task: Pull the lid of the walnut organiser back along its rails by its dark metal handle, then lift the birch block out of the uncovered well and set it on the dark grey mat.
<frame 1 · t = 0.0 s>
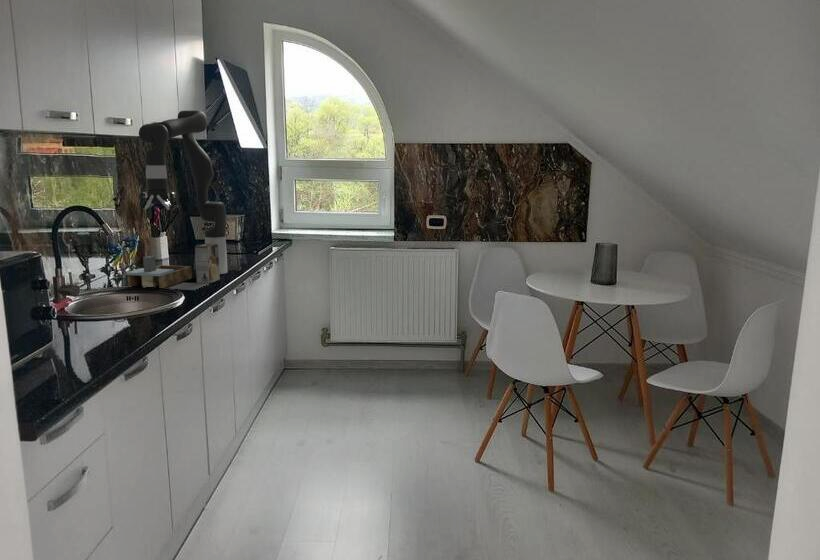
hand: (159, 219, 248), 29 cm above the worktop, tool pointing down, fingers open, 8 cm apart
organiser: (151, 286, 265), on the worktop
block: (150, 280, 265), in the organiser
lid: (149, 265, 263), point 9 cm above the worktop, slide at 0.0 cm
mat: (188, 286, 264), on the worktop
coffee box: (208, 281, 276), on the worktop
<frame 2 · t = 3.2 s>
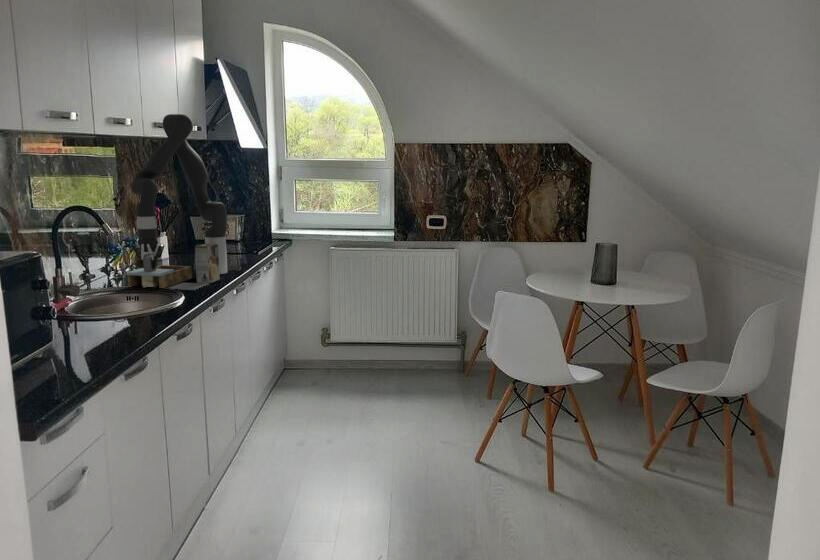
hand: (149, 268, 264), 8 cm above the worktop, tool pointing down, fingers closed on lid, 3 cm apart
lid: (149, 265, 263), point 9 cm above the worktop, slide at 0.0 cm, touching gripper
everything else where it was.
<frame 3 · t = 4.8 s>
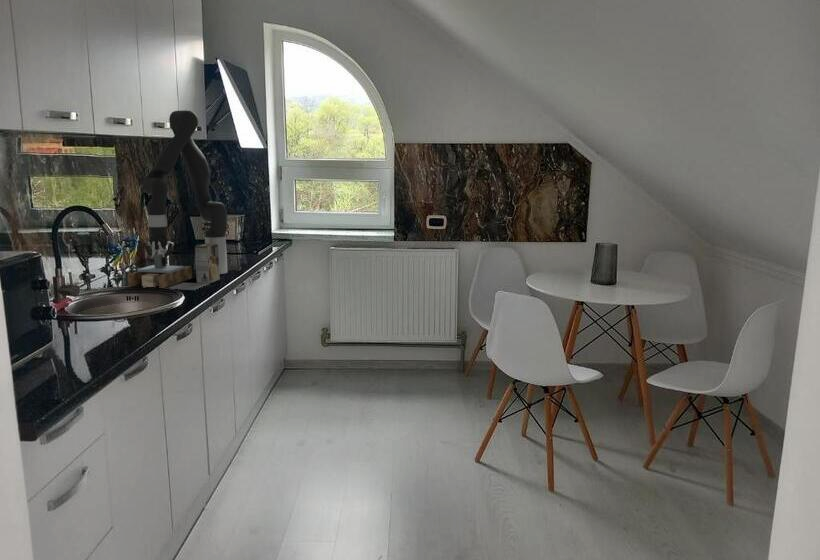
hand: (160, 265, 271), 8 cm above the worktop, tool pointing down, fingers closed on lid, 3 cm apart
lid: (160, 262, 271), point 9 cm above the worktop, slide at 7.9 cm, touching gripper
everything else where it was.
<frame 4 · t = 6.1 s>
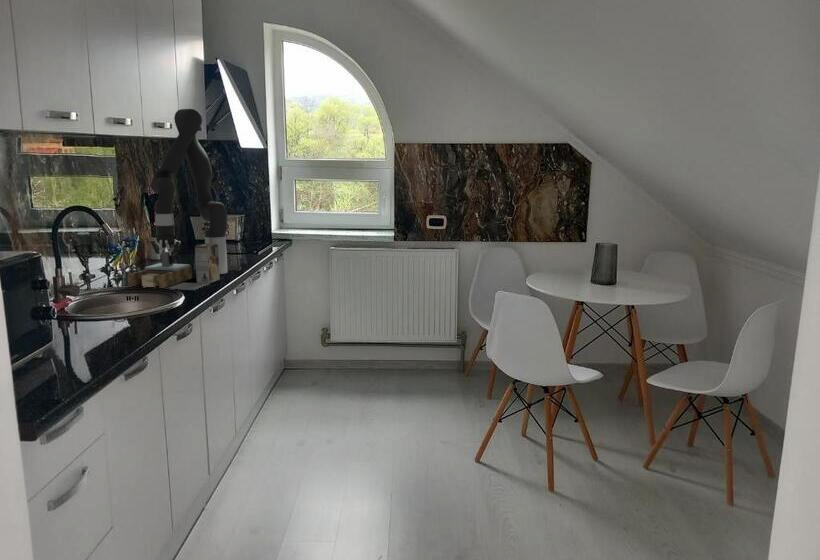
hand: (167, 263, 277), 8 cm above the worktop, tool pointing down, fingers closed on lid, 3 cm apart
lid: (167, 260, 276), point 9 cm above the worktop, slide at 13.4 cm, touching gripper
everything else where it was.
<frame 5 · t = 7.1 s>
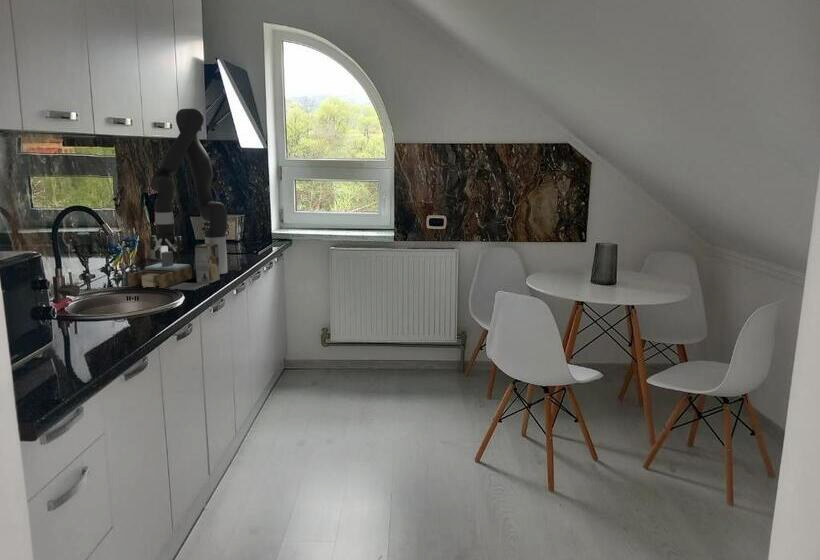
hand: (167, 259, 276), 9 cm above the worktop, tool pointing down, fingers open, 8 cm apart
lid: (167, 260, 276), point 9 cm above the worktop, slide at 13.4 cm
everything else where it was.
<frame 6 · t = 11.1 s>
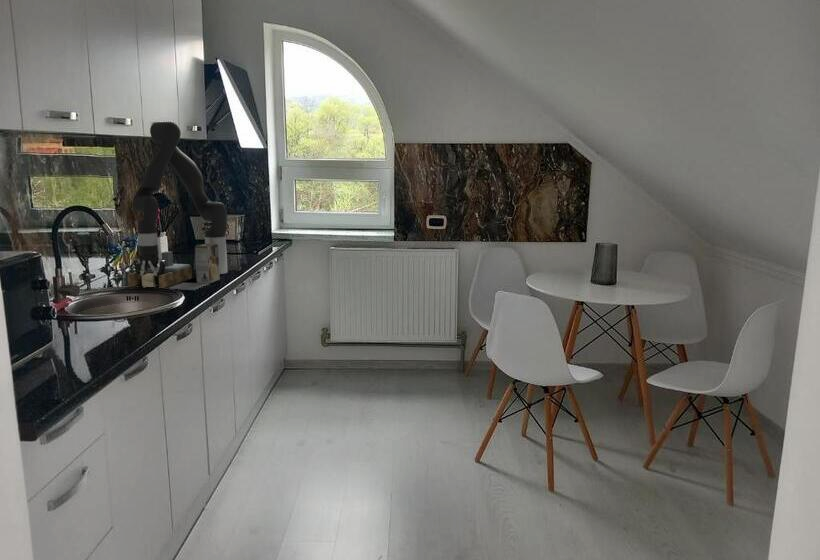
hand: (151, 284, 265), 1 cm above the worktop, tool pointing down, fingers closed on block, 5 cm apart
block: (150, 280, 265), in the organiser, touching gripper
everything else where it was.
when the fingers open (3 cm above the worktop, at t = 17.8 s): block drops 1 cm, resting on mat.
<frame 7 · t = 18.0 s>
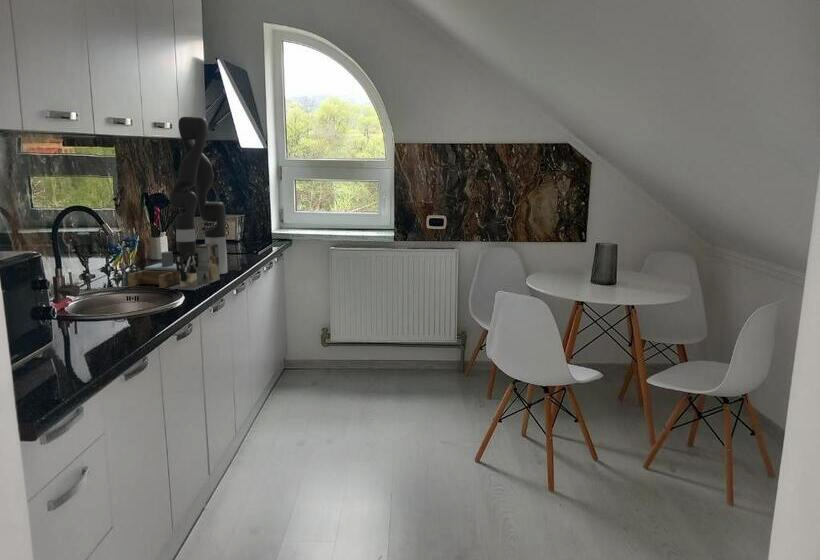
hand: (188, 279, 264), 3 cm above the worktop, tool pointing down, fingers open, 6 cm apart
block: (188, 279, 264), on the mat
everything else where it was.
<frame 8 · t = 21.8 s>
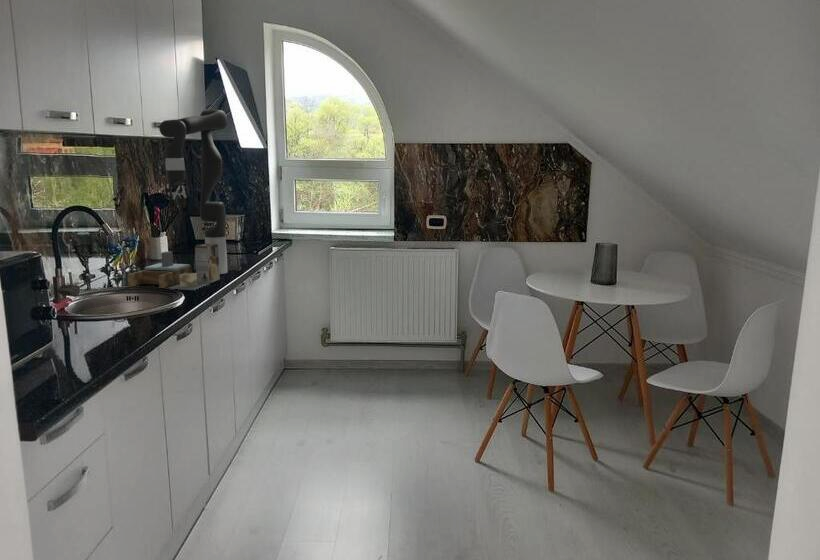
hand: (177, 207, 268), 32 cm above the worktop, tool pointing down, fingers open, 8 cm apart
nothing on the worktop moved.
at the end: lid slide at 13.4 cm; block inside the target area on the mat (0.0 cm from its centre), point 3.0 cm above the mat's base; block tilted 0° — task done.
